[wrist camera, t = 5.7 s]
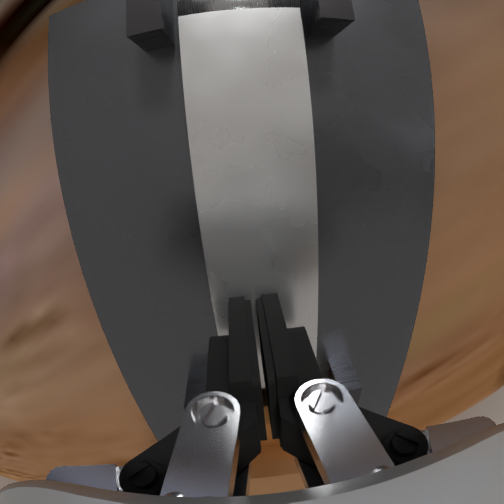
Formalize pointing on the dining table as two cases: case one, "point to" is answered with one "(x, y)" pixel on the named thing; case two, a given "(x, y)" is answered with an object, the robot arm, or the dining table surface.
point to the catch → (273, 467)
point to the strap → (252, 155)
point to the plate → (184, 200)
